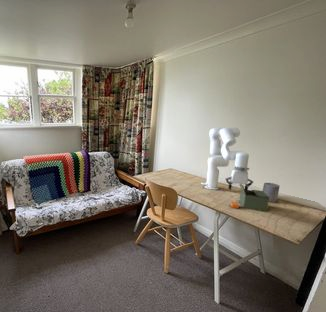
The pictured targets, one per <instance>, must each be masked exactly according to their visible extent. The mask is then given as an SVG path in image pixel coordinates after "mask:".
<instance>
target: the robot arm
mask: <svg viewBox="0 0 326 312" xmlns="http://www.w3.org/2000/svg"><path fill="white" fill-rule="evenodd" d="M240 134H241V131H240V129H239V128H238V127H212V128H211V129H210V130H209V132H208V137H209V140H210V142H209V144H210V145H209V154H210V155H211V156H210V157H208V158H207V174H206V181H205V182H200V185H202V186H203V187H204V188H205V189H207V190H211V191H217V190H218V191H219V189H220V187H219V186H218V185H219V175H220V170H219V168H220V167H221V168H226V167H228V166H229V164H230V161H234V168H233V169H232V171H231V174H230V176H229V177H225V181H226V183H227V184H228V189H229V190H230V191H232V187H233V186H232V185H233V184H238V185H239V184H242V185H244V190H245V192H247V190H249V187H250V186H252V185H253V184H254V181H253V180H252V179H250V178H249V171H250V167H248V164H249V157H250V155H249V154H248V153H247V152H244V151H242V150H230V147H232V146H234V145H235V144H236V143H237V139H236V138H238V137H239V136H241V135H240ZM222 142H223V143H222ZM229 180H230V181H229Z"/></svg>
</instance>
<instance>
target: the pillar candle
mask: <svg viewBox="0 0 326 312" xmlns="http://www.w3.org/2000/svg"><path fill="white" fill-rule="evenodd" d="M280 187H281V185H279V184H277V183H274V182H264V183H263V188H262V191H263V192H264V193H265V194H267V195H268V196H269V202H268V203H276V202H277V201H278V197H279V192H280Z"/></svg>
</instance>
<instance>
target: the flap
mask: <svg viewBox="0 0 326 312" xmlns="http://www.w3.org/2000/svg"><path fill="white" fill-rule="evenodd" d="M238 185H239V188H240V191H241V190H242V191H243V192H244V193H245V190H244V189H245V186H244V184H238ZM245 194H246V193H245Z"/></svg>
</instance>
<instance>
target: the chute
mask: <svg viewBox="0 0 326 312" xmlns="http://www.w3.org/2000/svg"><path fill="white" fill-rule="evenodd" d="M245 193H246V194H245ZM245 193H244V192H243V191H242V190H241V189H240V194H239V200H238V202H239V203H240V205H241V206H242V207H243V208H244V209H250V210H256V211H257V210H258V211H264V212H267V211H268V207H269V203H270V202H269V196H268V195H267V194H265V193H264V192H263V190H258V189H251V190H249V189H248V190H247V192H245Z"/></svg>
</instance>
